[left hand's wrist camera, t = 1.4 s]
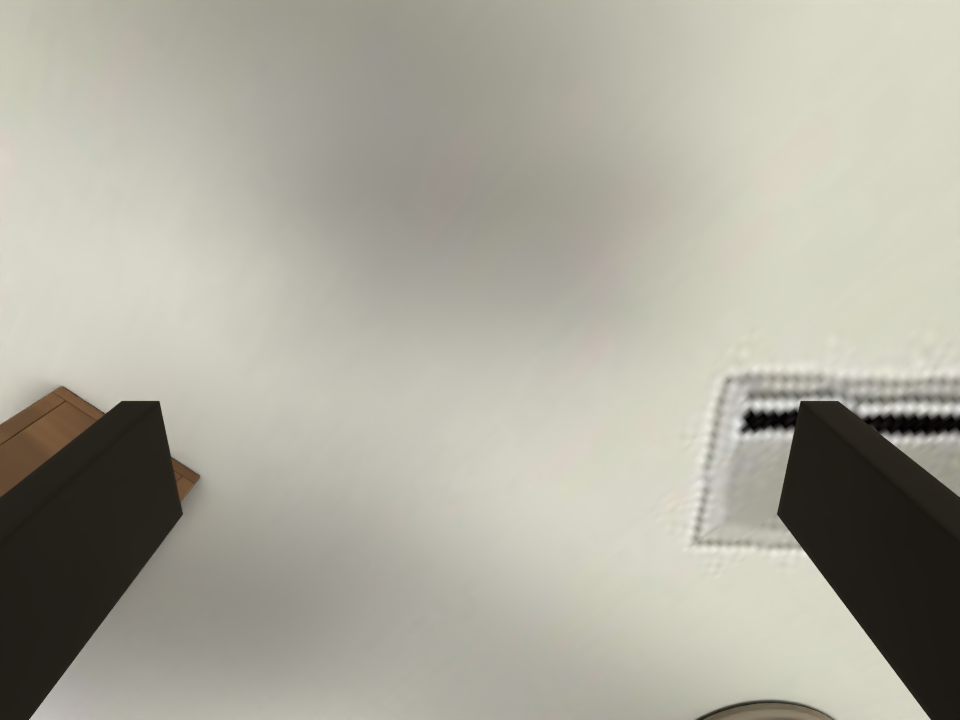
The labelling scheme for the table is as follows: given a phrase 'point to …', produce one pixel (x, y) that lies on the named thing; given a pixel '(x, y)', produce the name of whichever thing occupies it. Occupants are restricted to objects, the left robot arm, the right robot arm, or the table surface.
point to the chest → (54, 438)
